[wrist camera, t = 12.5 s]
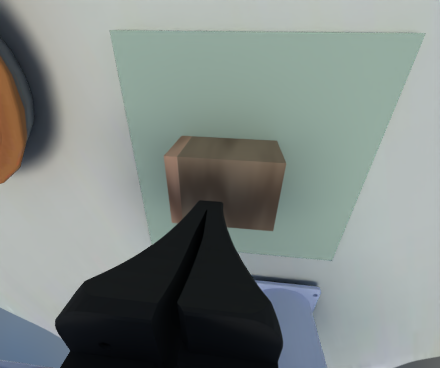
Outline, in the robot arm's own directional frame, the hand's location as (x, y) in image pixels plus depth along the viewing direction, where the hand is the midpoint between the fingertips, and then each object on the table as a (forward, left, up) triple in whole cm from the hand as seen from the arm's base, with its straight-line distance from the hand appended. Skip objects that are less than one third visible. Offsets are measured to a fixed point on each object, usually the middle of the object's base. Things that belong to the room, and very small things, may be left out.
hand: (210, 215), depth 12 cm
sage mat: (0, -2, -6) cm, 7 cm away
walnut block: (0, -4, -4) cm, 6 cm away
